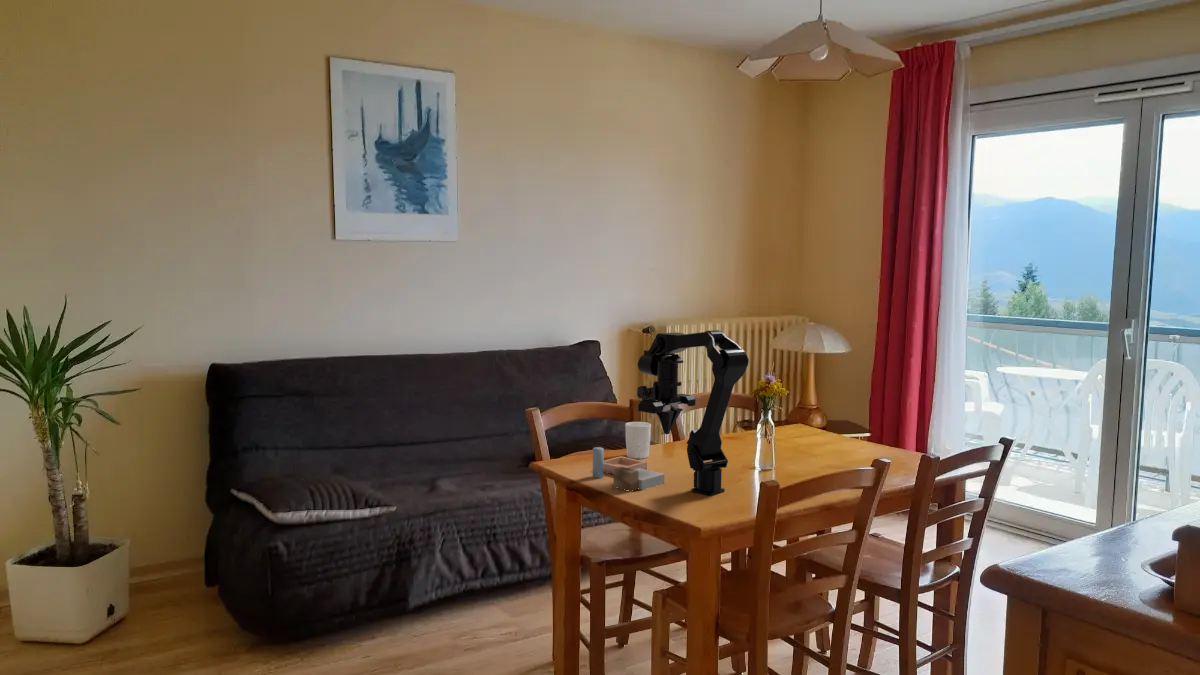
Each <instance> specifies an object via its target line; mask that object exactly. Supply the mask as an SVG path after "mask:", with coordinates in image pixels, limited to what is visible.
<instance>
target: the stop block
mask: <svg viewBox="0 0 1200 675" xmlns="http://www.w3.org/2000/svg"><path fill="white" fill-rule="evenodd" d="M615 487H618V488H617V489H619V488H622V489H625V490H624V491H626V490H629V491H628V492H630V491H631V492H633V491H632V490H635V491H637V490H636V489H638V470H633V469H629V468H625V467H618V468H614V474H613V488H615ZM622 489H621V490H622ZM638 490H639V489H638Z"/></svg>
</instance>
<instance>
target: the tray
mask: <svg viewBox="0 0 1200 675" xmlns="http://www.w3.org/2000/svg"><path fill="white" fill-rule="evenodd" d="M618 467H625V468H629V469H633V470H634V469H638V468H641V469H645V470H648V462H647V461H643V460H639V459H635V458H629V457H626V456H621V455H620V456H617V457H612V458H608V459H604V469H603V473H606V472H608V473H607V474H610V473H612V474H611V475H614V468H618Z"/></svg>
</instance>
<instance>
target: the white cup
mask: <svg viewBox="0 0 1200 675" xmlns="http://www.w3.org/2000/svg"><path fill="white" fill-rule="evenodd" d="M624 426H625V427H624V428H625V445H626V456H627V458H631V459H635V460H639V459H647V458H649V457H650V447H651V446H650V445H651V432H652V423H650V422H644V421H630V422H625V423H624Z"/></svg>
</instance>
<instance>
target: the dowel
mask: <svg viewBox="0 0 1200 675" xmlns="http://www.w3.org/2000/svg"><path fill="white" fill-rule="evenodd" d="M604 450H605V449H604V448H603V447H601V446H598V447H597V446H596V447H592V478H593V479H603V478H604V472H603V469H604V460H605V459H604V458H605V456H604V455H605V454H604V453H605V452H604ZM602 477H603V478H602Z"/></svg>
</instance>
